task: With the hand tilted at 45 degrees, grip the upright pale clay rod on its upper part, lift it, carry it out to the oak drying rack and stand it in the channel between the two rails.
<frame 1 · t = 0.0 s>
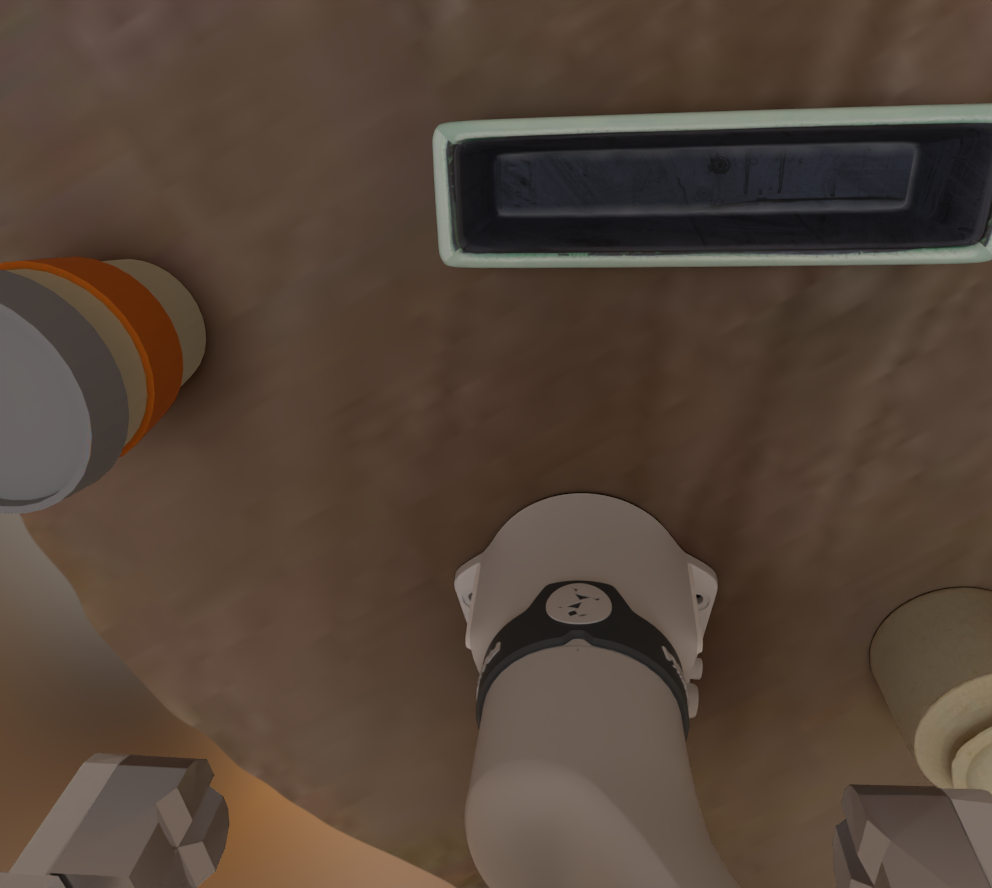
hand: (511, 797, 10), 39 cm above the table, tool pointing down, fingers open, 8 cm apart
reusable coffee cup: (143, 325, 50), on the table
sugar bowl: (954, 625, 52), on the table
planter: (694, 179, 43), on the table
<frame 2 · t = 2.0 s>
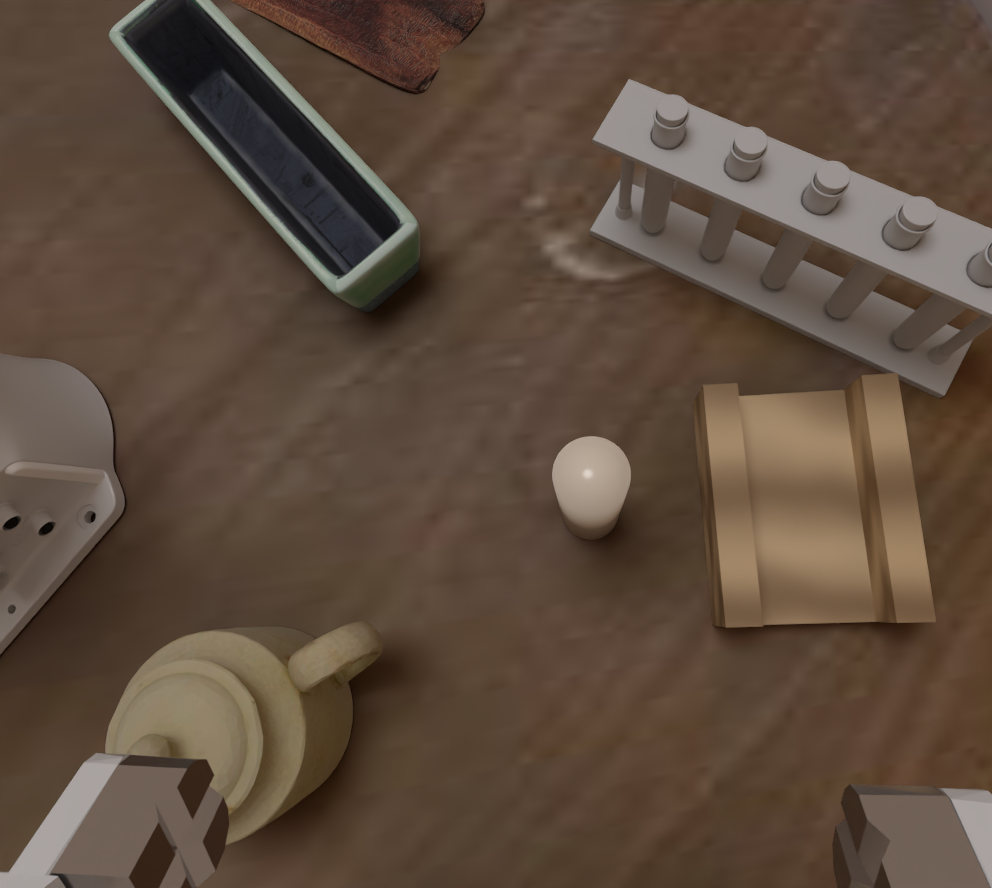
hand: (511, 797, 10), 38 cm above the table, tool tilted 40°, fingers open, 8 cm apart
test tube rack: (769, 287, 50), on the table
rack: (792, 507, 46), on the table
clay rod: (590, 511, 48), on the table
sugar bowl: (289, 687, 48), on the table
planter: (295, 183, 56), on the table
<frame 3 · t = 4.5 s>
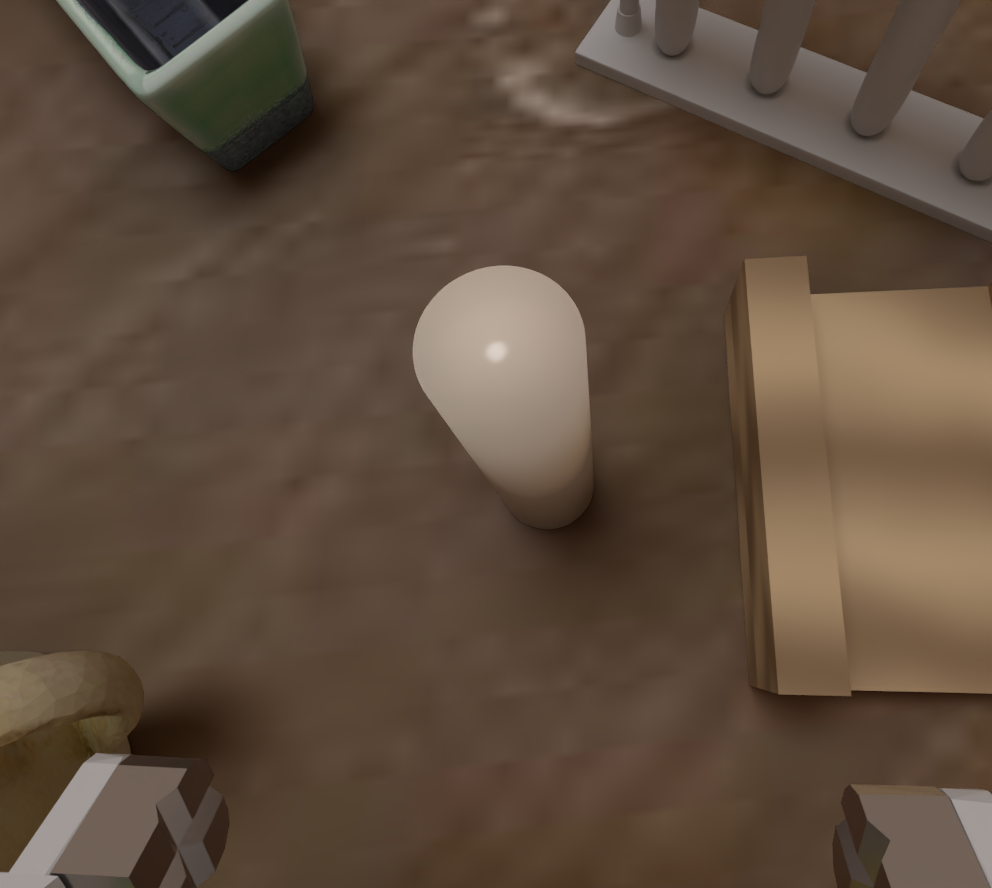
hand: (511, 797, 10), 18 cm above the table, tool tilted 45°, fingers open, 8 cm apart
test tube rack: (859, 139, 31), on the table
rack: (892, 486, 27), on the table
clay rod: (547, 483, 29), on the table
sugar bowl: (40, 753, 29), on the table
planter: (149, 0, 39), on the table
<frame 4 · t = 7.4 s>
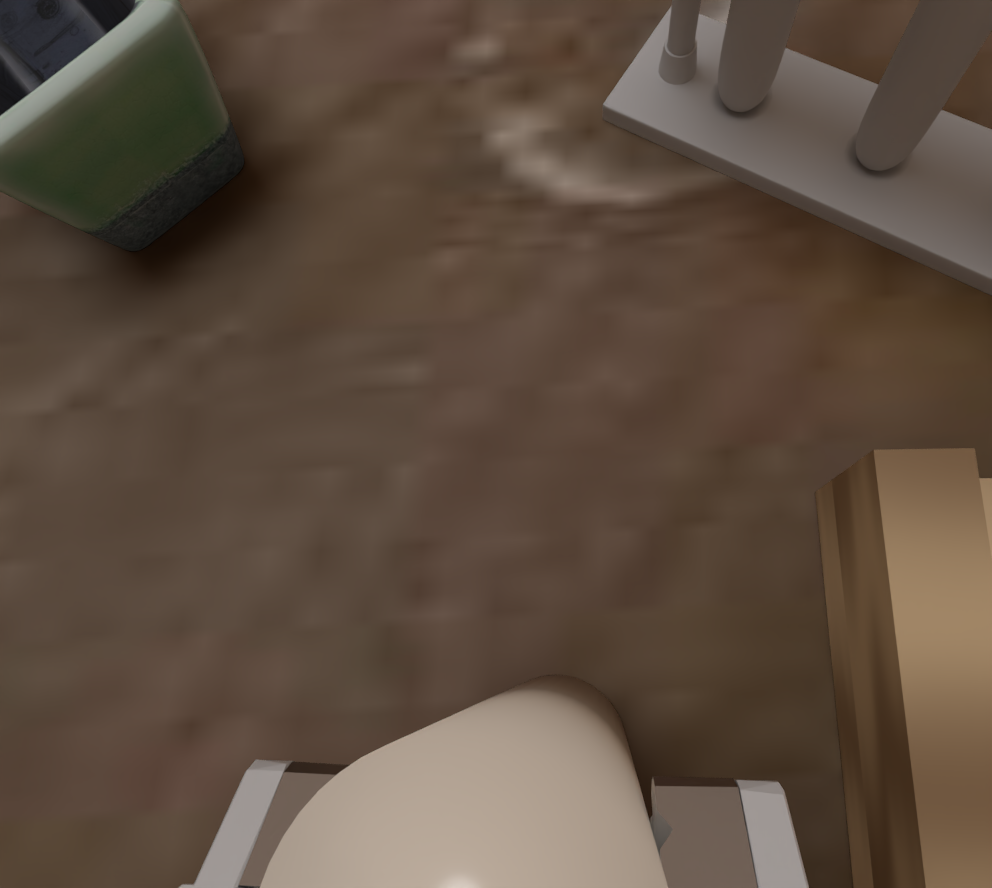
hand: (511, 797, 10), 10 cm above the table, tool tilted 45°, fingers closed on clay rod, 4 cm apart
clay rod: (557, 746, 19), on the table, touching gripper
planter: (33, 20, 29), on the table
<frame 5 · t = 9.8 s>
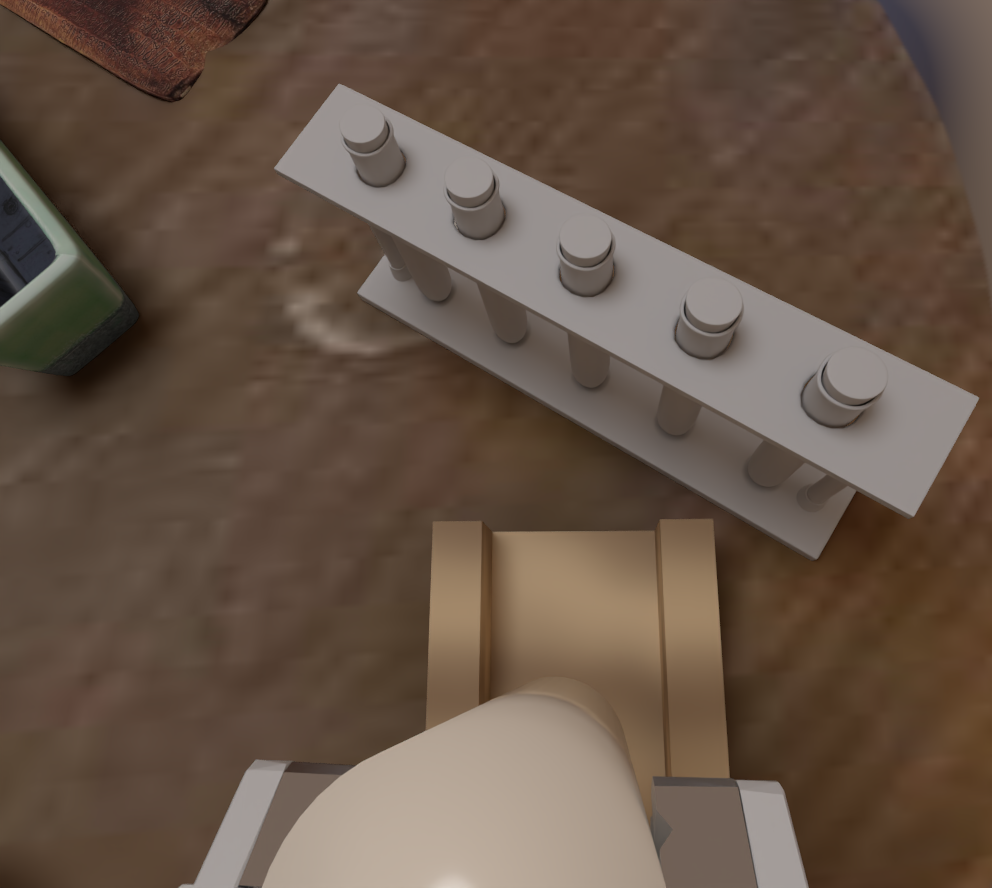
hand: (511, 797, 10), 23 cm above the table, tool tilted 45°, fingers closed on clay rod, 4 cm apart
test tube rack: (590, 382, 36), on the table
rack: (575, 699, 32), on the table
clay rod: (556, 748, 19), point 13 cm above the table, touching gripper
planter: (1, 211, 43), on the table
when the fingers open (13 cm above the table, at t = 12.4 s): clay rod drops 1 cm, resting on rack.
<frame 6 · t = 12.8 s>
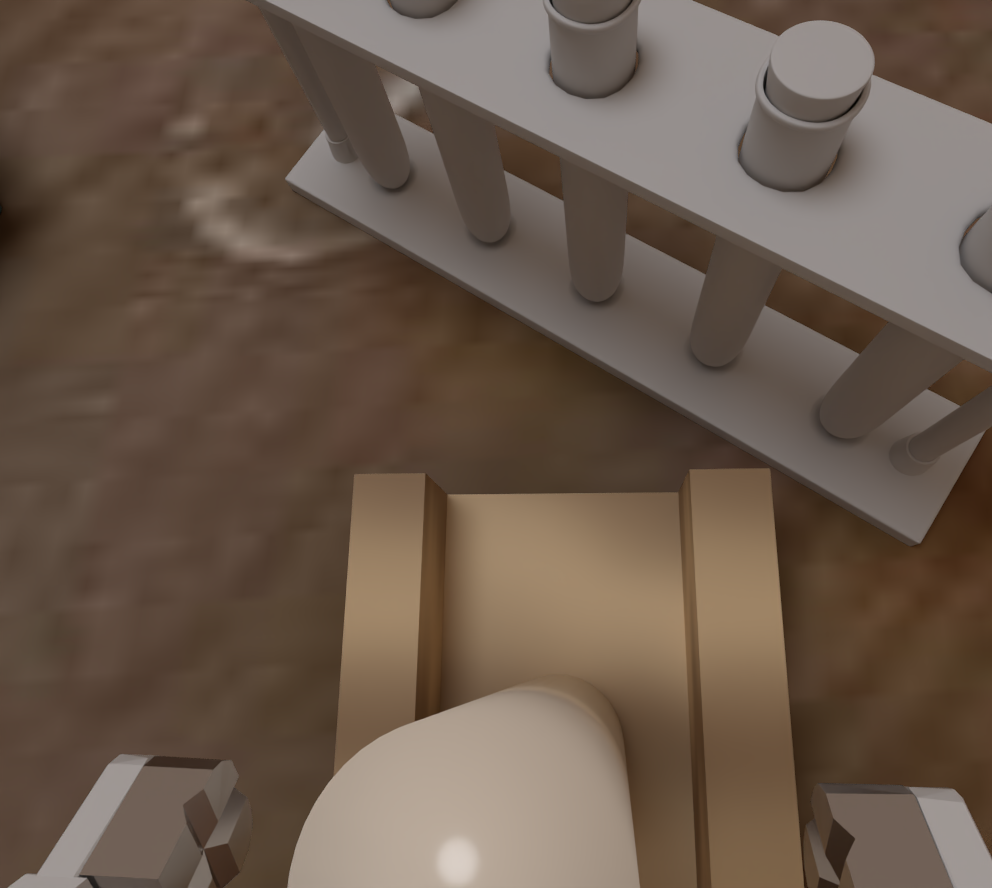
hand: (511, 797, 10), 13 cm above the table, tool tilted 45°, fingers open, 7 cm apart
test tube rack: (596, 299, 26), on the table
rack: (564, 733, 22), on the table
clay rod: (558, 741, 21), point 2 cm above the table, touching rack
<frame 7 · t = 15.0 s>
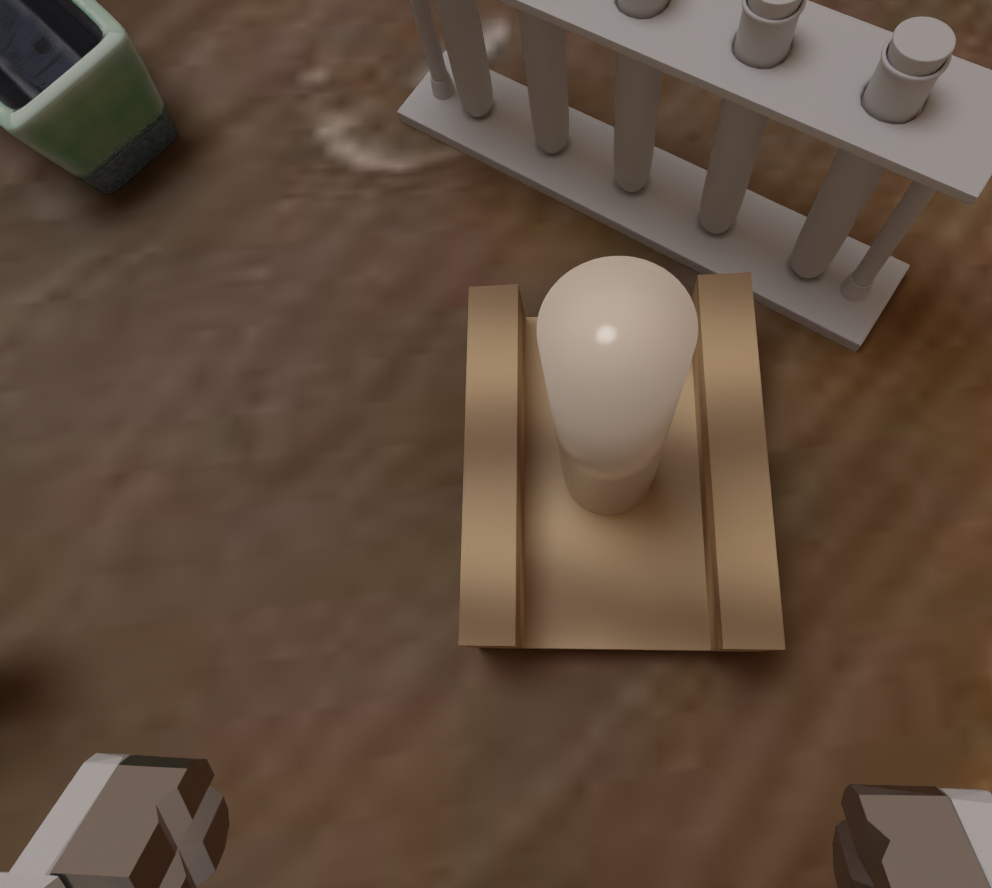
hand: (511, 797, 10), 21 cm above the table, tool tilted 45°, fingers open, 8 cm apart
test tube rack: (630, 194, 36), on the table
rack: (610, 479, 32), on the table
clay rod: (608, 471, 30), point 2 cm above the table, touching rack
planter: (31, 55, 44), on the table
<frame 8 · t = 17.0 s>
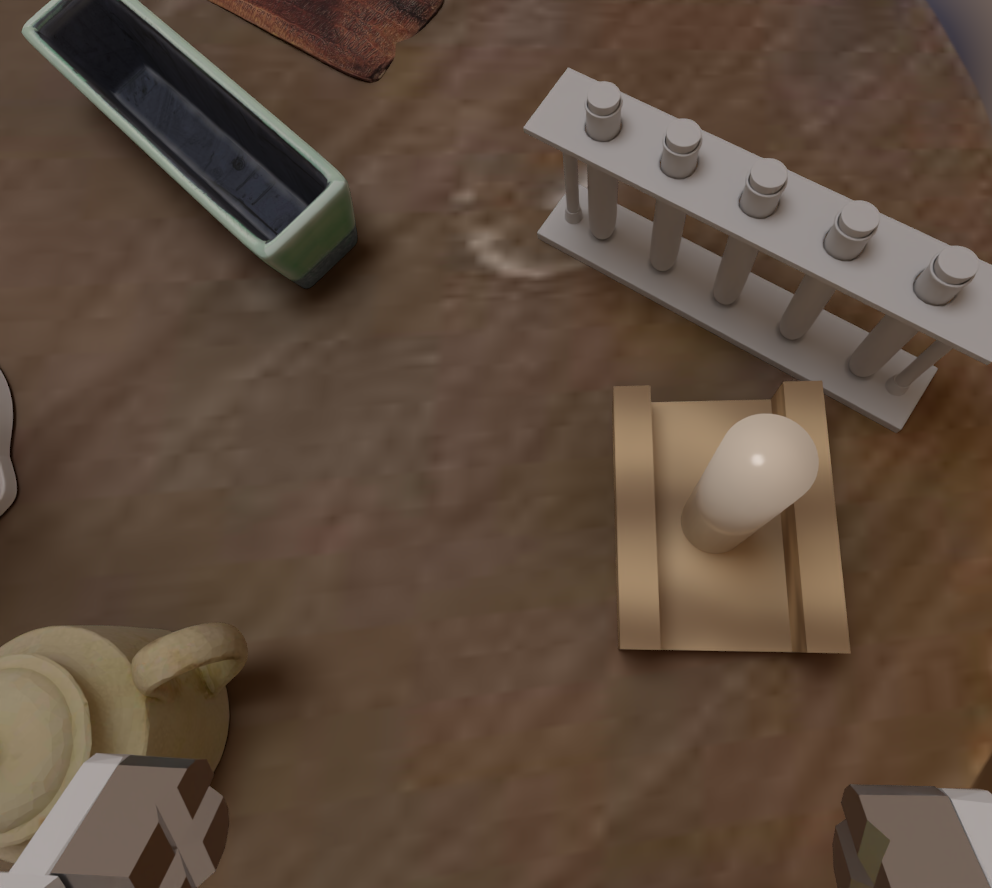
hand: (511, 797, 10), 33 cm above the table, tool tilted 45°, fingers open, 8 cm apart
test tube rack: (722, 303, 47), on the table
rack: (711, 524, 43), on the table
clay rod: (713, 521, 41), point 2 cm above the table, touching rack
sugar bowl: (166, 694, 45), on the table
planter: (226, 169, 54), on the table
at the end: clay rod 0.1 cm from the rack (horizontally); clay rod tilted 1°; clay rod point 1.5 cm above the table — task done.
